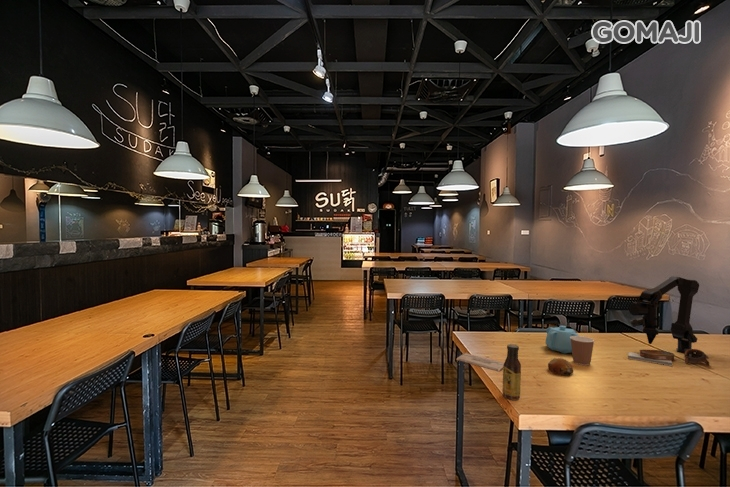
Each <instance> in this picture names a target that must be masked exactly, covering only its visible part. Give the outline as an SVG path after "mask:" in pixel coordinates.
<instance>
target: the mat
mask: <svg viewBox="0 0 730 487" xmlns="http://www.w3.org/2000/svg"><path fill="white" fill-rule="evenodd" d="M627 359H628V360H635V361H640V362H647V363H651V362H652V364H657V363H658V364H657V365H663V364H664V366H668V367H669V366H670V367H673V362H672V361H673V360H656V359H648V358H645V357H642V356H640V353H638V352H637V353H636V352H632V351H629V352H628V356H627Z"/></svg>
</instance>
